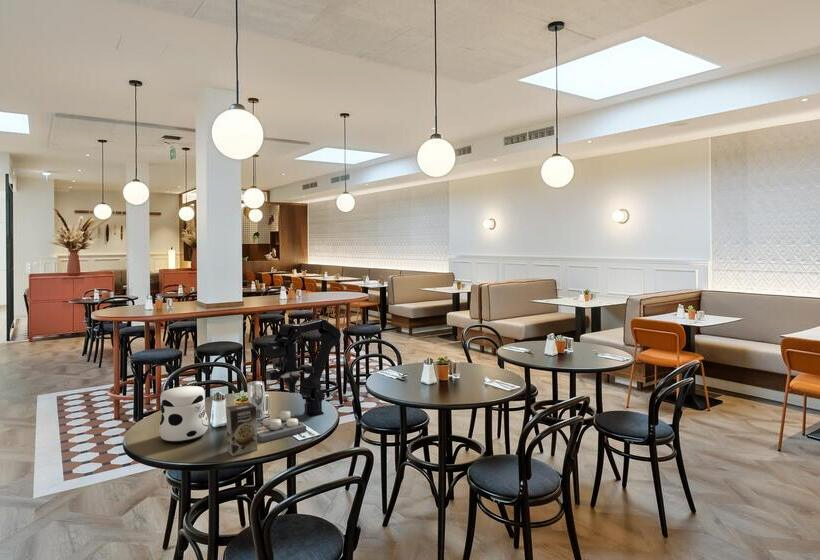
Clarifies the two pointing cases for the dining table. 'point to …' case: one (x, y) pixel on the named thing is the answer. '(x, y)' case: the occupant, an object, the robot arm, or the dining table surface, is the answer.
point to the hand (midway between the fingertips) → (290, 392)
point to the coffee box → (241, 429)
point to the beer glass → (257, 397)
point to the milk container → (183, 414)
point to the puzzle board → (277, 431)
